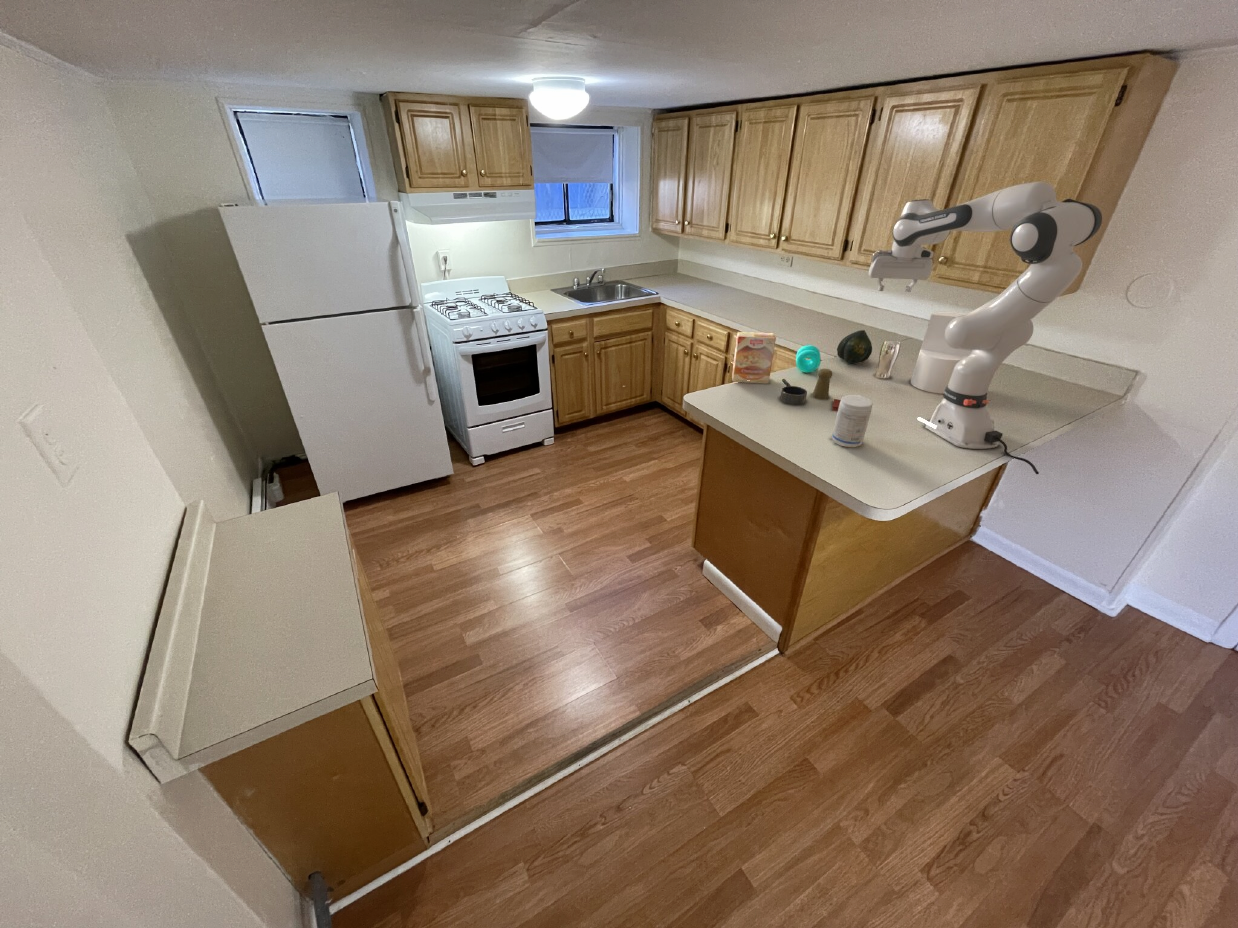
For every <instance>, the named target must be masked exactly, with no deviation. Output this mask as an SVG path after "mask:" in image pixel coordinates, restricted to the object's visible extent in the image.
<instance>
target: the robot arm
mask: <svg viewBox="0 0 1238 928" xmlns="http://www.w3.org/2000/svg"><path fill="white" fill-rule="evenodd" d="M1102 224H1103V214H1102V212H1101V210H1100V209H1099V207H1097V206H1096V205H1093V204H1091V203H1088V202H1083V201H1078V200H1075V199H1073V198H1066V199H1064V200H1062V201H1060V200H1058V199H1057V195H1056V190H1055V188H1054V186H1053V185H1052V184H1051V183H1049V182H1046V181H1032V182H1025V183H1020V184H1015V185H1011V186H1008V187H1004V188H1001V189H998V190H995V191H993V192H990V193H987V194H985V195H983V196H982V195H981V196H980V197H977V198H974V199H972V200H969V201H966V202H963V203H960V204H958V205H954V206H951V207H947V208H944V209H938V208H937V207H935V205H934V204H933V200H931V199H928V198H922V199H913V200H912V199H911V200H909V201H907V203H905V205H904V207H903V209H902V211H901V214H900V217H899V218H898V219H897V220H896V221H895V223H894V225H893V228H892V232H891V233H892V238H893V243H892V246H891V249H890V250H889V249H887V250H885V249H884V250H883V249H879V250H876V251H875V252H874V253H873V254H872V257H871V264H870V266H869V268H868V272H867V274H868V276H869V277H870V278H872V279H876V281H877V285H878V287H877V291H878V292H884V290H885V285H883V283H882V282H883V281H884V279H890V280H891V279H896V280H911V282H910V284H909V285H906V286H905V289H904V292H906V293H911V292H912V289H913V287H914V286H916V284H917V283H918V280H921V281H923V280H924V281H926V280H928V279H929V278H930V277H931V275H932V270H933V264H934V261H933V258H934V255H935V252H934V251H933V250H931V249H928V248H926V247H925V246H927V245H928V246H929V245H930V246H931V245H937V244H941V243H943V242H945V240H947V238H948V237H949V236H950V234H951V232H975V233H977V232H978V233H994V232H1002V231H1008V230H1011V231H1010V235H1009V243H1010V246H1011V249H1012V250H1013V252H1014V253H1015V255H1017V256H1018V257H1019V258H1020V259H1021V261H1022V262H1023V263H1024V264H1028V265H1029V266H1028V267H1027V268H1026V269H1025V270H1024V271H1023V272H1022V273H1021V274H1020V275H1019V276H1018V277H1017V278H1016V279H1015V280H1014V281H1013V282H1012V283H1010V284H1009V286H1007V287H1006V288H1005V289H1004V290H1003V291H1002V292H1001V293H1000V294H998V295H997V296H996V297H994V298H992V299H991V300H989V301H987V302H985V303H984V304H983V305H980V306H978V307H976V308H975V309H973V310H971V311H970V312H967V313H965V315H962V316H959V317H956V318H954V319H952V320H951V321H950V322H949V324H948V325H947V327H946V329H945V340H946V343H947V344H948V346H950V347H951V348H955V349H960V350H972V353H971V354H970V355H968V356H967V357H966V358H964V359H962V360H960V361H959V362H958V363H957V364H956V365H955V367H954V370H953V373H952V375H951V378H950V381H949V384H948V385H947V386H946V388H945V390H944V393H943V394H942V399H941V400H940V402H939V403H938V404H937V406H936V408H935V409H934V412H933V414H932V416H931V419H930V420H929V421H928V420H926V419H924V418H922V417H917V421H919V422H922V423H924V424H925V429H927V430H929V431H930V432H931V433H933V434H935V435H937V436H939V437H940V438H942V439H944V440H945V441H947V442H949V443H951V444H952V445H954V446H956V447H958V448H964V449H970V450H971V449H972V450H987V449H994V448H997V447H998V446H999V444H1002V446H1003V453H1004V454H1005V455H1006V456H1007V457H1009V458H1011V459H1015V460H1018V461H1022V462H1024V463H1026V464H1028V465H1029V466H1030V467H1031V468H1032V470H1033V472H1034V473H1035V475H1039V474H1040V472H1039V471H1038V469H1037V468H1036V466H1035V465H1034V464H1033V462H1032V461H1030V460H1028V459H1026V458H1023V457H1021V456H1020V457H1019V456H1015V455H1012V454H1011V453H1009V452H1008V445H1007V444H1006V442H1005V441H1003V439H1002V436H1003V435H1004V433H1003V432H1000V431H998V430H995V424H994V423H995V421H994V419H992V417H991V416H990V414H989V412H988V410H987V405H988V404H989V402H991V399H988V390H989V387H990V386H991V385H990V384H991V382H992V380H993V378H994V376H995V374H996V372H997V370H998V369H999V367H1000V366H1001V365H1002V364H1003V362H1004V361H1005V360H1006V359H1007V358H1008V357H1009V356H1011V355H1012V353H1013V352H1014V351H1017V349H1019V348H1021V347H1023V346H1024V345H1026V344H1027V343H1028V342H1029V341H1030V340H1031V339H1032V337H1033V334H1034V323H1033V320H1032V319H1034V318H1036V316H1037V315H1039V314H1040V313H1041V312H1042V311H1043V310H1044V309H1046V308H1047V307H1048V306H1050V304H1052V303H1053V302H1054V301H1055V300H1057V299H1058V298H1059V297H1060V296H1061V295H1062V294H1063V293H1064V292H1065V291H1066V290H1067V289H1068V288H1069V287H1070V286H1071V285H1072V283H1073V282H1074V281H1075V280H1076V279H1077V277H1078V276H1079V275H1080V273H1081V272H1082V269H1083V261H1082V259H1081V257H1080V256H1079V255H1078V254H1077V253H1076V252H1075V251H1074V248H1075V247H1077V246H1079V245H1082V244H1084V243H1086V242H1087V241H1089V240H1090V239H1092V238H1093V237H1094V236H1096V234H1097V233H1098V232H1099V230H1100V228H1101V226H1102Z"/></svg>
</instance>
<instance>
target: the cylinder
mask: <svg viewBox="0 0 1238 928" xmlns="http://www.w3.org/2000/svg"><path fill="white" fill-rule="evenodd" d="M965 314H966V313H964V312H959V311H934V312H932V313H931V314H930V318H929V321H928V324H927V327H926V330H925V334H924V337H923V340H922V344H921V346H920V350H919V353H918V356H917V358H916V361H915V362H916V363H915V365H914V369H913V372H912V375H911V378H910V385H912V387H915V388H916V389H919V390H921V391H924V392H928V393H932V394H933V393H934V394H942V395H943V393H944V390H945V388H946V386H947V385H948V384H949V381H950V378H951V375H952V373H953V370H954V367H955V365H956V364H957V363H958V362H959V361H960V360H962V359H964V358H966V357H967V356H968V355H970V354H971V353H972V352H973V350H960V349H955V348H951V347H950V346H948V344H947V343H946V340H945V329H946V327H947V325H948V324H949V322H950V321H951V320H952V319H954V318H956V317H959V316H962V315H965Z"/></svg>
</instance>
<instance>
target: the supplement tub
mask: <svg viewBox="0 0 1238 928" xmlns="http://www.w3.org/2000/svg"><path fill="white" fill-rule="evenodd" d="M840 400H841V401H840V405H839V409H838V411H837V413H836V417H835V421H834V425H833V430H832V435H831V439H832V441H833V442H834V443H835V444H837V445H838V446H842V447H846V448H857V447H859V446H861V445H862V444H863V441H864V440H865V439H864V438H865V435H866V431H867V427H868V424H869V420H870V416H871V413H872V410H873V405H874V403H873V401H872V400H871V398H870V399H869V398H868V397H866V396H863V395H858V394H850V395H849V394H848V395H847V394H846V395H843V396H842V397H841V399H840Z"/></svg>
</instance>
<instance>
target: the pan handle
mask: <svg viewBox="0 0 1238 928" xmlns="http://www.w3.org/2000/svg"><path fill="white" fill-rule="evenodd" d="M781 382H782V383H783V385H784V386H785V387H786V386H792V385H791V384H790V383H789V382H788V381H787V379H786V378H782V380H781Z"/></svg>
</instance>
